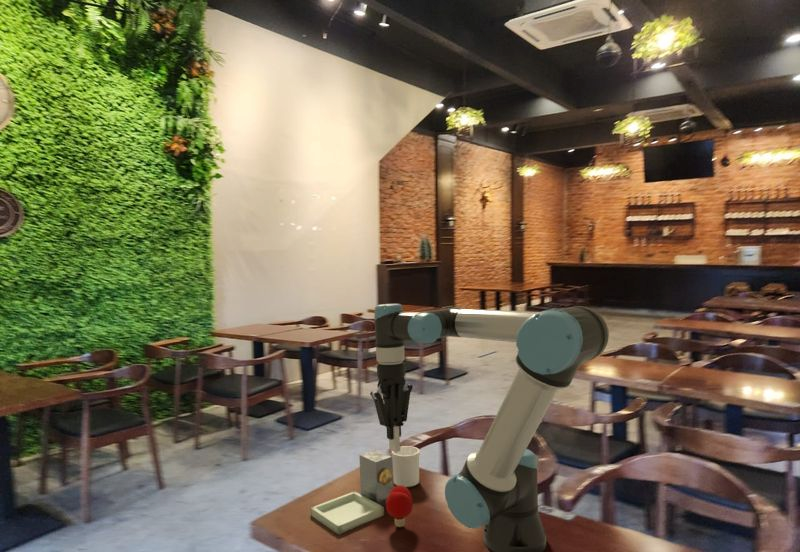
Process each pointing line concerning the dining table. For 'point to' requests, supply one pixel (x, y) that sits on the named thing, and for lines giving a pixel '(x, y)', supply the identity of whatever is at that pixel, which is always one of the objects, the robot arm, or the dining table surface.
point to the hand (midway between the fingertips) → (394, 450)
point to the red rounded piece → (399, 504)
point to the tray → (347, 512)
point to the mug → (406, 466)
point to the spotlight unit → (376, 476)
